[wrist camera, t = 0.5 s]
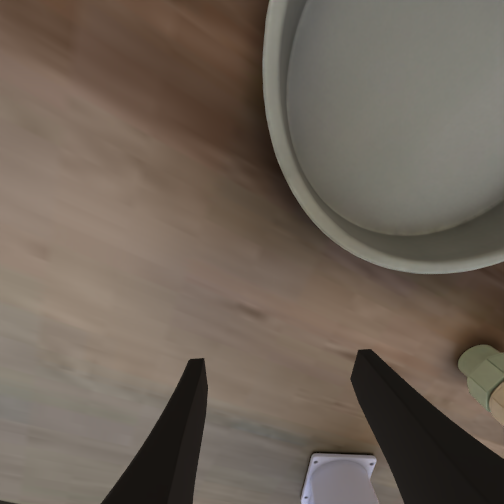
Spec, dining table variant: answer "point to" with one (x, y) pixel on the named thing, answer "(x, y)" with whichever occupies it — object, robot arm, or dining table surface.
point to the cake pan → (392, 125)
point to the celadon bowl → (482, 371)
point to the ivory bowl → (497, 403)
